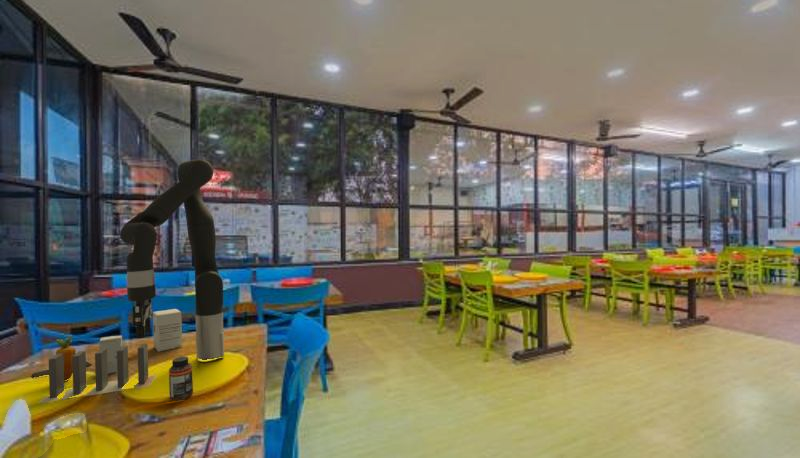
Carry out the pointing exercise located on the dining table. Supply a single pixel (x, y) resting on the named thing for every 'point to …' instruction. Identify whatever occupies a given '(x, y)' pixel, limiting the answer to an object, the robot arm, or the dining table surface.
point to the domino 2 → (101, 369)
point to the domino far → (56, 375)
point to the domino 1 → (79, 372)
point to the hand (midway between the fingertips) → (144, 334)
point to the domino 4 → (143, 363)
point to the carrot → (66, 356)
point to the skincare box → (111, 350)
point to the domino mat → (110, 387)
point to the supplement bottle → (180, 379)
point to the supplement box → (167, 329)
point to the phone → (48, 371)
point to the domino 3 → (122, 366)
